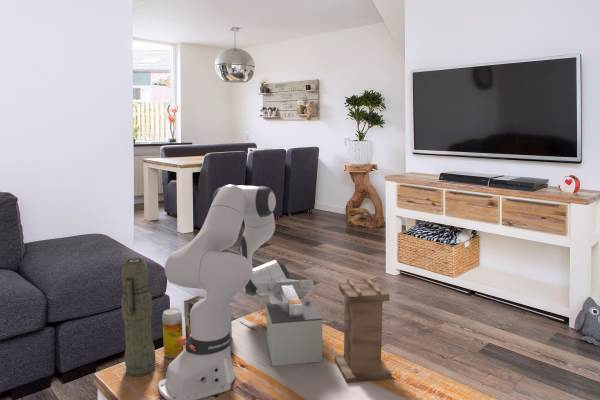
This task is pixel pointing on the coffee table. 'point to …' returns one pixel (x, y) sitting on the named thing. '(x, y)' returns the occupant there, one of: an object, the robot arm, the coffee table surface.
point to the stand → (362, 332)
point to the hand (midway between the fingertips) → (288, 283)
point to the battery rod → (291, 301)
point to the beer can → (172, 332)
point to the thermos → (137, 318)
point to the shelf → (294, 335)
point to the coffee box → (187, 308)
